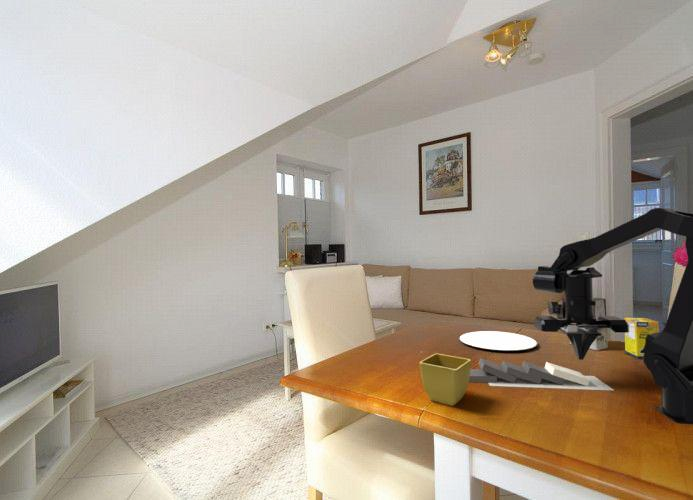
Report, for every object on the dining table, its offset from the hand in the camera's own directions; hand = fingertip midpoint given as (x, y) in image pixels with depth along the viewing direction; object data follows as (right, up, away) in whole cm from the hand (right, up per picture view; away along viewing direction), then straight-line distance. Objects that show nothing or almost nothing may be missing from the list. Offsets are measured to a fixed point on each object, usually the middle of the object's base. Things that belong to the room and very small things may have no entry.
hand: (580, 359), depth 85 cm
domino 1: (-19, -5, +4) cm, 20 cm away
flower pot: (-35, -7, -7) cm, 36 cm away
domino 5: (+1, -5, 0) cm, 5 cm away
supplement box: (+31, -5, +19) cm, 37 cm away
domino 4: (-5, -5, +1) cm, 7 cm away
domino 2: (-15, -5, +3) cm, 16 cm away
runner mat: (-8, -6, +2) cm, 10 cm away
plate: (-4, -7, +37) cm, 38 cm away
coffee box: (+23, -5, +30) cm, 39 cm away
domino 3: (-10, -5, +2) cm, 11 cm away
